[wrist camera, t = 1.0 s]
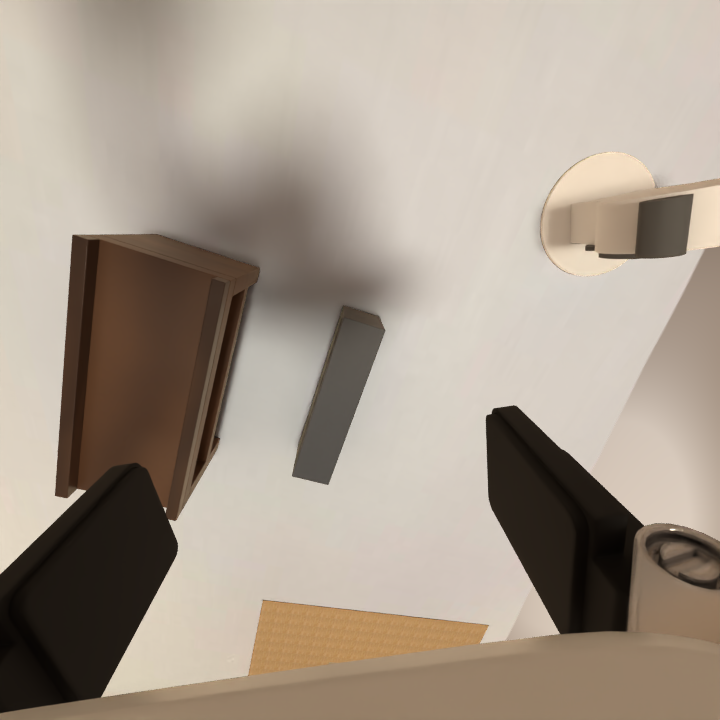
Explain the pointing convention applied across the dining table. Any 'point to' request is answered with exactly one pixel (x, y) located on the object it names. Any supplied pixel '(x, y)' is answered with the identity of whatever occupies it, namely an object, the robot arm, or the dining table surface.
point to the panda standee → (624, 216)
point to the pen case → (338, 394)
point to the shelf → (146, 360)
